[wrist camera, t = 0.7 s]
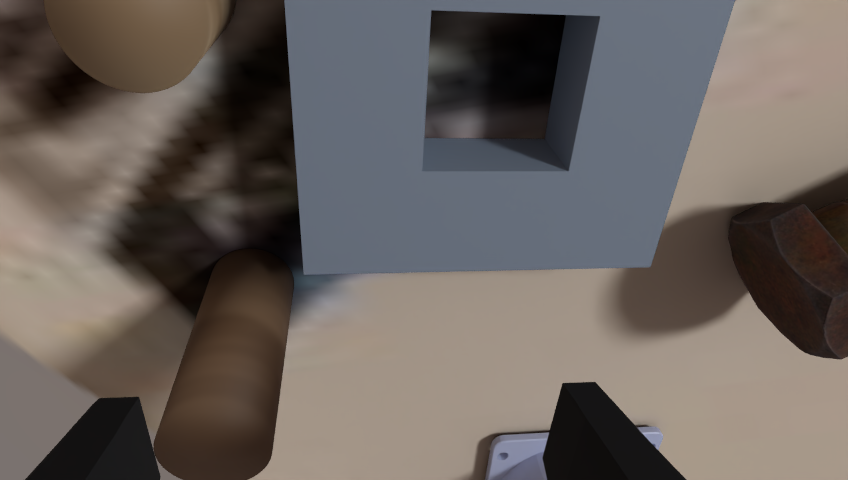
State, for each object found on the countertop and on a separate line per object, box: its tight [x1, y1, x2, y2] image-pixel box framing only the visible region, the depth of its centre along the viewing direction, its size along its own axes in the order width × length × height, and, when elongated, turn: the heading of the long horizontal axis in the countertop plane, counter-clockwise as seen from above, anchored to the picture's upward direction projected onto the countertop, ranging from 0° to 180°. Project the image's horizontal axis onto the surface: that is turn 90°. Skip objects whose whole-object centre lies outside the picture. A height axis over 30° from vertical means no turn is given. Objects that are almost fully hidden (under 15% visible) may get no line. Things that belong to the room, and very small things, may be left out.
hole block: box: [284, 0, 735, 275], centre depth 16 cm, size 11×11×2 cm
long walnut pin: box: [154, 249, 294, 480], centre depth 17 cm, size 3×3×7 cm
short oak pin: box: [44, 0, 235, 93], centre depth 13 cm, size 3×3×4 cm
